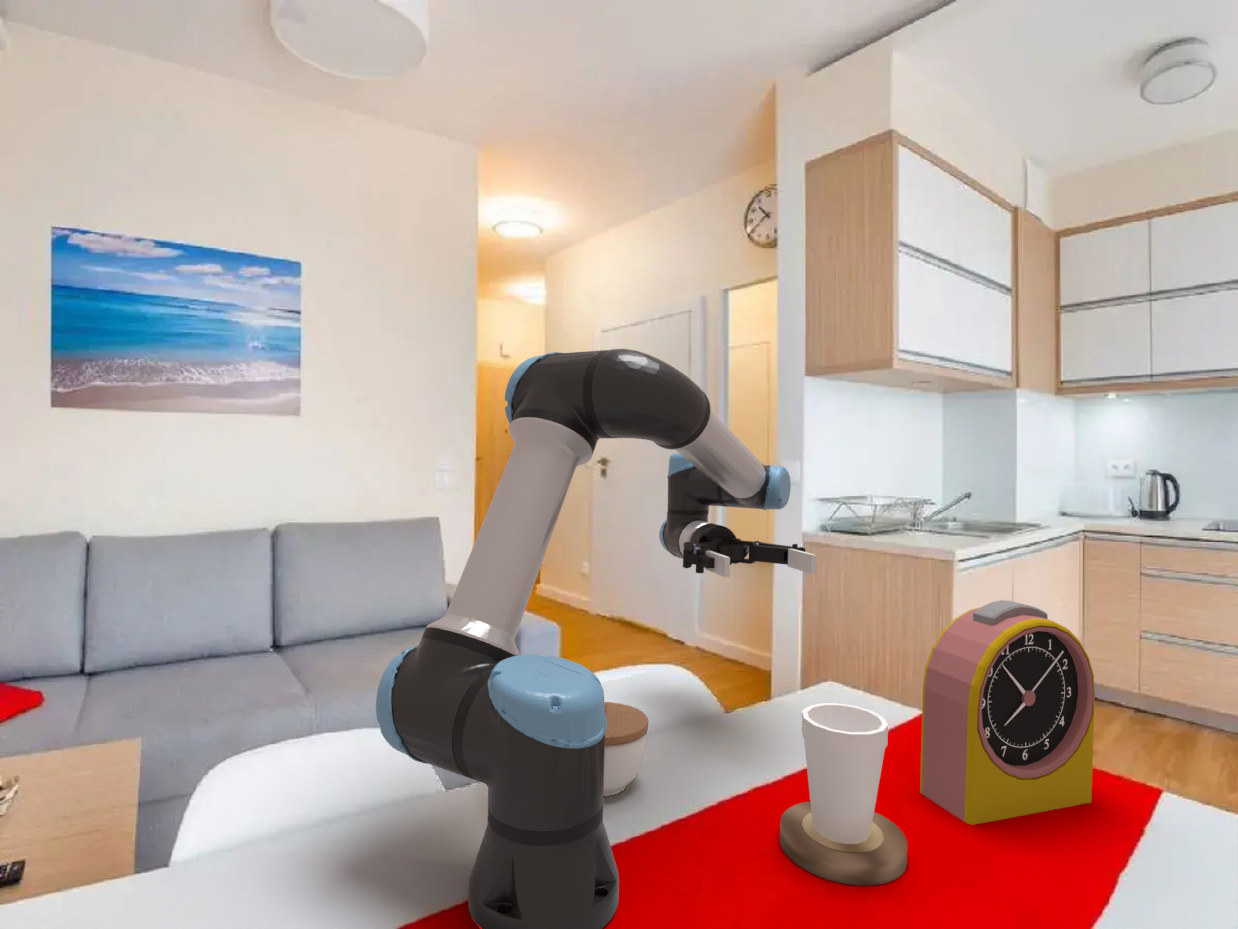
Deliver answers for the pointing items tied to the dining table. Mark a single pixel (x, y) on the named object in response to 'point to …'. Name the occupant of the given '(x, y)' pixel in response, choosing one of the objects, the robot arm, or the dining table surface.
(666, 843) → the dining table surface
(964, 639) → the alarm clock
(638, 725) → the lidded bowl
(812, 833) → the walnut stand
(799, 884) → the dining table surface
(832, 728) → the foam cup
